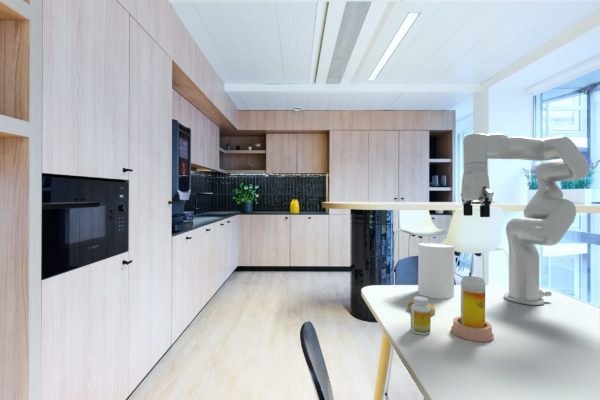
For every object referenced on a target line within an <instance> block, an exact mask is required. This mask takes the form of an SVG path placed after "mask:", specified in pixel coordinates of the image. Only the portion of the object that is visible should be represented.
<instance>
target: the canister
mask: <svg viewBox="0 0 600 400" xmlns="http://www.w3.org/2000/svg"><path fill="white" fill-rule="evenodd" d="M417 245H418V246H417V247H418V255H417V256H418V259H417V260H418V261H417V262H418V265H417V266H418V270H417V272H418V273H417V274H418V275H417V293H418V294H419V295H420V296H422V297H426V298H431V299H439V300H447V299H452V298H454V297H455V245H454V244H449V243H442V242H420V243H418V244H417Z"/></svg>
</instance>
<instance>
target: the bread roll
mask: <svg viewBox="0 0 600 400" xmlns="http://www.w3.org/2000/svg"><path fill="white" fill-rule="evenodd" d="M413 301H414V299H413V300H411V301H410V302H409V303H408V305H407V307H408V310H409V311H410V312H411V306H412V304H414V302H413ZM428 306H429V307H430V309H431V316H434V315H435V314H436V308H435V306H434V305H432V304H431V303H430V302H428Z"/></svg>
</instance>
